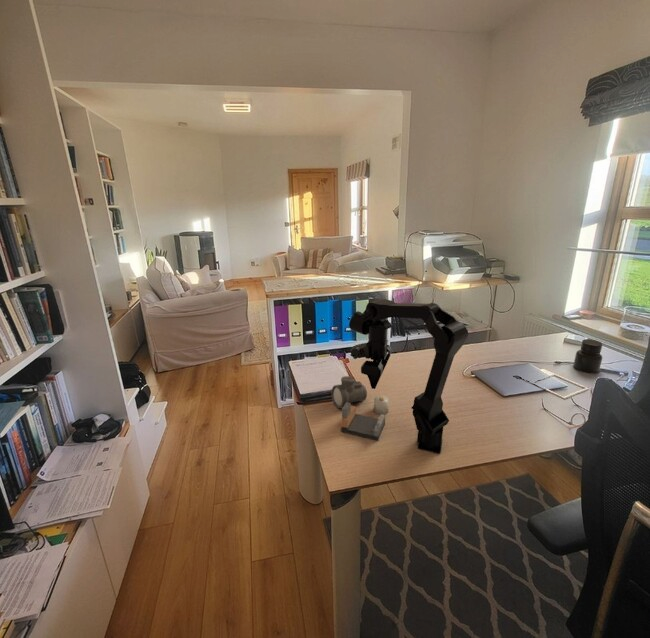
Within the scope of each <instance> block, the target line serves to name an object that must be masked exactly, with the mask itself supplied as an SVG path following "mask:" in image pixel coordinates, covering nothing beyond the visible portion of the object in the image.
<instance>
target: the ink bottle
mask: <svg viewBox="0 0 650 638" xmlns="http://www.w3.org/2000/svg"><path fill="white" fill-rule="evenodd" d="M602 348H603V343H602V342H600V341H599V340H595V339H590V338H589V339H588V338H585V339H582V341H581V345H580V349H579V350H577V351H576V352H575V356H574V361H573V367H574V368H576V369H577V370H579V371H581V372H585V373H591V374H593V373H594V374H595V373H598V372H600V369H601V365H602V361H603V356H602V354H601V352H602Z"/></svg>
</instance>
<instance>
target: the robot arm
mask: <svg viewBox="0 0 650 638" xmlns="http://www.w3.org/2000/svg"><path fill="white" fill-rule="evenodd" d="M389 318H397V319H399V318H400V319H414V320H415V319H416V320H417V319H419V320H420V319H421V320H422V321H423V322H424V323H425V327H426V329H427V332H428V333H429V335H431V337H433V347H434V351H435V355H434V358H433V361H432V365H431V369H430V372H429V374H428V379H427V382H426V385H425V389H424V391H423V392H422V393H420V394H418V395H417V396H415V397H414V399H413V405H412V406H411V407H410V408H411V410H412V416H413V418H414V422H415V426H416V430H417V438H416V439H417V440H416V442H417V443H418V444H417V449H420V450H423V451H428V452H432V453H435V454H441V452H442V448H443V434H444V427H446V426H447V425H448V423H449V422H450V419H449V417H448V416H447V414H446V412H445V411H444V410H443V407H444V402H443V399H442V394H443V391H444V389H445V385H446V382H447V379H448V376H449V374H450V369H451V367H452V363H453V361H454V358H455V356H456V354H457V353H458V352H459V351H460V349H461V348H462V347H463V346H464V343H465V342H466V340H467V339H468V337H469V330H468V329H467V327H466V326H465V325H464V323H462V322H460V321H459V320H458V319H457V318H456V317H455V316H454V315H453V314H451V313H449V312H447V311H445V310H444V309H443V308H441V306H439V304H437V303H435V302H430V303H416V302H415V303H414V302H413V303H411V302H408V303H407V302H405V303H404V302H402V303H401V302H399V303H398V302H395V301H392V300H391V299H386V298H382V299H378V300H374V301H371V302H368V303H366V307H365V310H364V311H363V312H361V311H359V310H357V311H354V312H353V315H352V317H351V318H350V320H349V323H348V327H349V328H350V330H351V331H353V332H355V333H358V334H361V335H364V336H366V335H367V336H368V341H367V342H363V343H358V344H354V345H353V346H352V348H350V356H351V357H352V358H353V359H354V360H356V359H359V358H364V357H365V359H368V360H365V361H364V362H363V363H362V365H361V367H360V373H361V374H363V375H366V376H367V378H368V380H369V381H368V382H369V384H370V387H371V389H373V390H375V389H376V388H377V385H378V383H379V381H380V379H381V377H382V375H383V372H384V371H385V368H386V366H387V364H388V361H389V359H390V357H391V354H392V350H393V349H392V347H391V345H389V344H388V343H389V341H388V339H387V337H388V333H387V331H388V330H389V329H391V328H393V327H394V325H393V324H392V323H391V322H390V320H389ZM384 319H385V320H384ZM439 323H441V324H443V325H442V326H441V325H440V324H439ZM369 359H370V360H369Z"/></svg>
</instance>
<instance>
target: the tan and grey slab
mask: <svg viewBox="0 0 650 638" xmlns="http://www.w3.org/2000/svg"><path fill="white" fill-rule="evenodd" d="M355 414H356V406H355V405H352V403H348V402H346V403H345V405H344V407H343V408H341V427H345V428H348V426H349V425H350V423H351V421H352V419H353V417H354V416H355Z"/></svg>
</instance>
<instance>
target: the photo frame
mask: <svg viewBox="0 0 650 638" xmlns="http://www.w3.org/2000/svg"><path fill="white" fill-rule="evenodd" d="M540 370H541V371H542V372H544V373H547V374H548V375H550V376H552V377H553V376H554V377H556V378H559V379H562V380H564V381H566V382H568V383H570V384H572V385H574V386H578V387H580V388H582V389H579V390H577V391H574V392H572V393H569V394H567V395H565V396H563V395H561V394H559V393H557V392H554V391H552V390H550V389H548V388H546V390H545V391H546V392H548V393H550V394H552V395H554V396H556V397H559V398H561V399H563V400H567V399H568V398H571V397H574V396H576V395H579V394H582V393H583V392H586V391H588V390H589V389H590V388H589V387H587V386H584V385H581V384H580V383H577V382H575V381H573V380H570V379H568V378H566V377H563V376H561V375H558V374H556V373H554V372H552V371H549V370H547V369H544V368H541V369H540Z"/></svg>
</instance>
